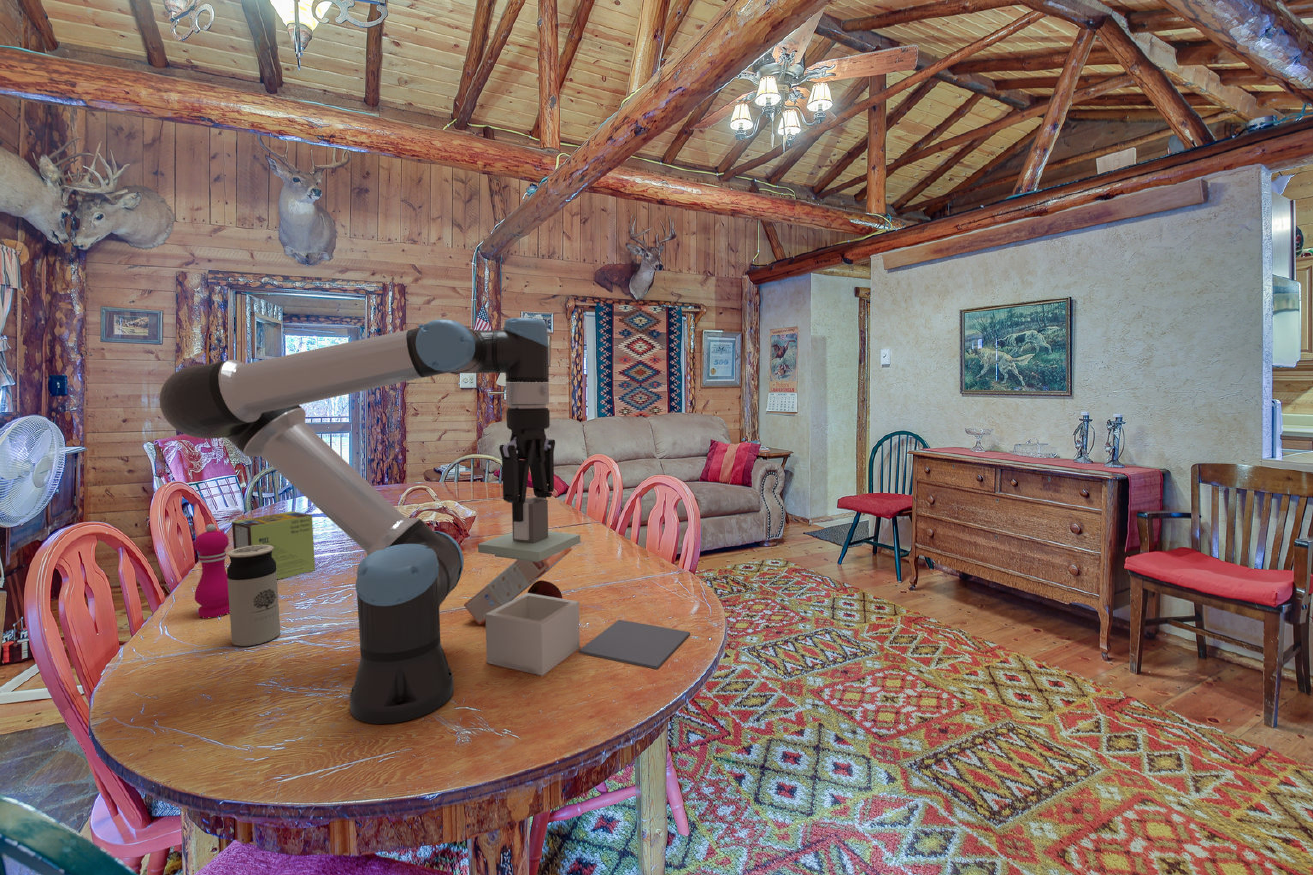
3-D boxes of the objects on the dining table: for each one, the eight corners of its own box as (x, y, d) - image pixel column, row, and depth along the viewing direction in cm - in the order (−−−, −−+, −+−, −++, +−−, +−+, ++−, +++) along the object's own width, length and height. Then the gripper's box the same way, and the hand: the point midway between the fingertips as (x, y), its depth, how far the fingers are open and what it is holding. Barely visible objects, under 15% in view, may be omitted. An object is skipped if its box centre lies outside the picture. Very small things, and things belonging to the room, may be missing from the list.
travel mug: (226, 639, 117) (220, 550, 115) (272, 627, 123) (267, 542, 121) (239, 651, 112) (233, 557, 110) (286, 637, 118) (281, 548, 116)
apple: (523, 613, 129) (523, 577, 129) (559, 608, 132) (558, 573, 131) (528, 626, 123) (527, 588, 122) (565, 620, 125) (565, 584, 124)
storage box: (542, 675, 101) (541, 624, 100) (486, 662, 106) (485, 614, 105) (579, 647, 112) (578, 601, 111) (527, 637, 117) (526, 592, 116)
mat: (657, 669, 103) (657, 666, 103) (578, 652, 110) (578, 650, 110) (690, 634, 118) (690, 631, 118) (619, 621, 124) (619, 619, 124)
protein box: (316, 570, 161) (313, 514, 160) (253, 586, 148) (249, 525, 147) (296, 564, 167) (293, 510, 166) (234, 579, 154) (230, 521, 153)
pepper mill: (240, 612, 131) (234, 523, 129) (199, 622, 126) (193, 529, 124) (232, 604, 136) (226, 518, 134) (192, 613, 131) (186, 524, 129)
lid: (539, 566, 99) (538, 510, 98) (478, 557, 104) (476, 504, 103) (580, 547, 111) (579, 497, 110) (523, 540, 116) (522, 492, 115)
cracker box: (479, 627, 123) (550, 567, 118) (461, 605, 123) (531, 544, 119) (509, 603, 136) (574, 548, 132) (493, 583, 137) (557, 528, 132)
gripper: (514, 408, 96) (517, 549, 98) (572, 405, 112) (574, 527, 114) (477, 408, 99) (481, 545, 101) (539, 405, 115) (541, 523, 117)
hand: (530, 535), depth 107 cm, fingers closed on lid, 4 cm apart
